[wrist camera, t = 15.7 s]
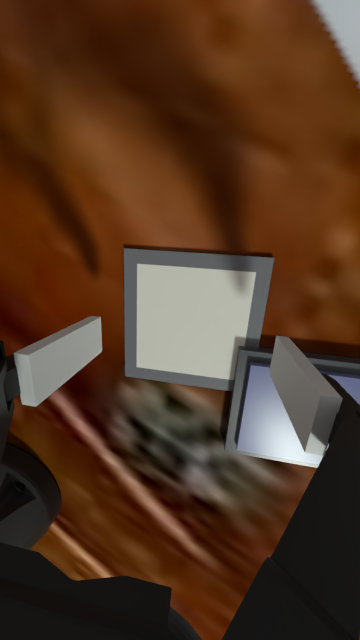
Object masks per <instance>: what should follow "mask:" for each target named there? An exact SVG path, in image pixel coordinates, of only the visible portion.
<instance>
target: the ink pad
mask: <svg viewBox="0 0 360 640" xmlns="http://www.w3.org/2000/svg"><path fill="white" fill-rule="evenodd" d="M273 350H274V349H272V348H264V347H259V348H253V347H244V346H239V348H238V355H237V362H236V368H235V375H234V382H233V389H232V392H231V399H230V406H229V413H228V420H227V426H226V433H225V440H224V448H225V451H226V452H231V453H237V454H243V455H248V456H254V457H260V458H265V459H271V460H276V461H282V462H288V463H293V464H299V465H305V466H310V467H316V468H318V466H319V464H320V462H321V460H322V458H323V456H322V455H316V454H310V453H305V452H304V450H303V448H302V445H301V443H300V441H299V439H298V436H297V434H296V432H295V430H294V427H293V425H292V423H291V421H290V419H289V416H288V414H287V412H286V410H285V407H284V405H283V403H282V401H281V398H280V396H279V394H278V392H277V390H276V387H275V385H274V383H273V381H272V378H271V376H270V374H269V370H270V365H271V360H272V355H273ZM302 353H303V354H304V355H305V356H306V358H307V359H308V360H309V361H310V362H311V363H312V364H313V365H314V367H315V368H316V369H317V370H318V371H319V372H320V373H321V374H327V375H329V376H330V377H332V378H333V379H335V380H336V381H337V382H338V383H339V384H340V385H341V386H342V387H343V388H344V389H345V390H346V391H347V393H349V394H350V395H351V396H352V397H353V398H354V399H355V401H356V402H357V403H358V404H359V405H360V358H351V357H342V356H334V355H325V354H316V353H307V352H302ZM328 446H329V444H328ZM328 446H327V448H328Z"/></svg>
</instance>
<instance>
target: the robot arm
mask: <svg viewBox="0 0 360 640" xmlns="http://www.w3.org/2000/svg"><path fill="white" fill-rule="evenodd" d="M101 352H102V335H101V317H96V316H90V317H88V318H86V319H84V320H82V321H79V322H77V323H75V324H73V325H71V326H69V327H67V328H65V329H63V330H61V331H59V332H57V333H54V334H52V335H50V336H48V337H46V338H44V339H42V340H40V341H38V342H36V343H34V344H32V345H29V346H27V347H25V348H23V349H21V350H19V351H17V352H15V353H14V354H12V355H10V356H8V357H6V355H5V349H4V343H3V341H1V340H0V640H202V639H201V638H200V637H199V635H198V634H197V633H196V631H195V630H194V629H193V627H192V626H191V625H190V624H189V623H188V622H187V621H186V620H185V619H184V618H183V617H182V616H181V615H180V614H179V613H177V612H176V611H175V610H174V609H172V608H171V607H170V600H171V588H170V587H167V586H163V585H159V584H155V583H152V582H148V581H144V580H140V579H137V578H133V577H129V576H118V577H109V578H99V579H90V580H80V581H75V580H72V579H70V578H69V577H68V576H67V575H65V574H64V573H63V572H62V571H61V570H59V569H58V568H57V567H56V566H54V565H53V564H52V563H51V562H50V561H48V560H47V559H46V558H45V557H44V556H42V555H41V554H40V553H39V552H35V551H31V550H30V549H31V548H32V547H33V546H34V545H35V544H36V543H37V542H38V541H39V540H40V539H41V538H42V537H43V536H44V535H45V533H46V532H47V531H48V529H49V528H50V526H51V524H52V523H53V521H54V519H55V518H56V516H57V515H58V513H59V510H60V506H61V498H60V493H59V490H58V487H57V485H56V483H55V481H54V479H53V478H52V476H51V475H50V473H49V472H48V471H47V470H46V469H45V468H44V467H43V466H42V465H41V464H40V463H39V462H38V461H37V460H36V459H34V458H33V457H32V456H30V455H29V454H27V453H26V452H24V451H22V450H20V449H18V448H16V447H14V446H11V445H8V444H6V440H7V436H8V432H9V427H10V423H11V419H12V414H13V410H14V406H15V405H14V399H13V398H15V397H16V396H18V395H19V394H20V395H21V401H22V404H23V405H29V406H35V407H36V406H37V405H39V404H40V403H41V402H42V401H43V400H45V399H46V398H47V397H48V396H49V395H51V394H52V393H53V392H54V391H55V390H57V389H58V388H59V387H60V386H61V385H62V384H64V383H65V382H66V381H67V380H68V379H70V378H71V377H72V376H73V375H74V374H76V373H77V372H78V371H79V370H80V369H82V368H83V367H84V366H85V365H86V364H88V363H89V362H90V361H91V360H92V359H94V358H95V357H96V356H97V355H98V354H100V353H101ZM269 374H270V376H271V378H272V381H273V383H274V385H275V387H276V390H277V392H278V394H279V396H280V398H281V401H282V403H283V405H284V407H285V410H286V412H287V414H288V416H289V419H290V421H291V423H292V425H293V427H294V430H295V432H296V434H297V436H298V439H299V441H300V443H301V445H302V448H303V450H304V452H305V453H310V454H316V455H322V456H323V458H322V460H321V462H320V464H319V466H318V468H317V470H316V472H315V474H314V475H313V477H312V479H311V481H310V483H309V485H308V487H307V489H306V491H305V493H304V495H303V497H302V499H301V501H300V502H299V504H298V506H297V508H296V510H295V512H294V514H293V516H292V518H291V520H290V522H289V524H288V526H287V528H286V530H285V531H284V533H283V535H282V537H281V539H280V541H279V543H278V545H277V547H276V549H275V551H274V553H273V554H272V556H271V557H270V558H269V557H267V558H266V560H265V561H264V563H263V564H262V566H261V568H260V569H259V571H258V573H257V575H256V577H255V579H254V580H253V582H252V584H251V586H250V588H249V590H248V592H247V594H246V595H245V597H244V599H243V601H242V603H241V605H240V607H239V608H238V610H237V612H236V614H235V616H234V618H233V620H232V622H231V623H230V625H229V627H228V629H227V631H226V633H225V635H224V636H223V638H222V640H359V633H360V405H359V404H358V403H357V402H356V401H355V399H354V398H353V397H352V396H351V395H350V394H349V393H347V391H346V390H345V389H344V388H343V387H342V386H341V385H340V384H339V383H338V382H337V381H336V380H335V379H333V378H332V377H330V376H329V375H327V374H321V373H320V372H319V371H318V370H317V369H316V368H315V367H314V365H313V364H312V363H311V362H310V361H309V360H308V359H307V358H306V356H305V355H304V354H303V353H302V352H301V351H300V350H299V348H298V347H297V346H296V345H295V344H294V343H293V342H292V341H291V339H290V338H289V337H283V336H276V340H275V345H274V350H273V355H272V360H271V365H270V370H269ZM328 444H329V446H328ZM327 446H328V448H327Z"/></svg>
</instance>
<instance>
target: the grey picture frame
mask: <svg viewBox="0 0 360 640" xmlns="http://www.w3.org/2000/svg"><path fill="white" fill-rule="evenodd" d="M273 263H274V258H269V257H253V256H237V255H221V254H205V253H190V252H174V251H158V250H142V249H126V248H124V315H125V376H128V377H135V378H142V379H149V380H156V381H163V382H170V383H177V384H184V385H191V386H198V387H205V388H212V389H219V390H226V391H232V389H233V382H234V375H235V368H236V362H237V355H238V348H239V346H244V347H253V348H259V342H260V337H261V331H262V325H263V320H264V314H265V308H266V303H267V297H268V291H269V285H270V280H271V274H272V268H273Z"/></svg>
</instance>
